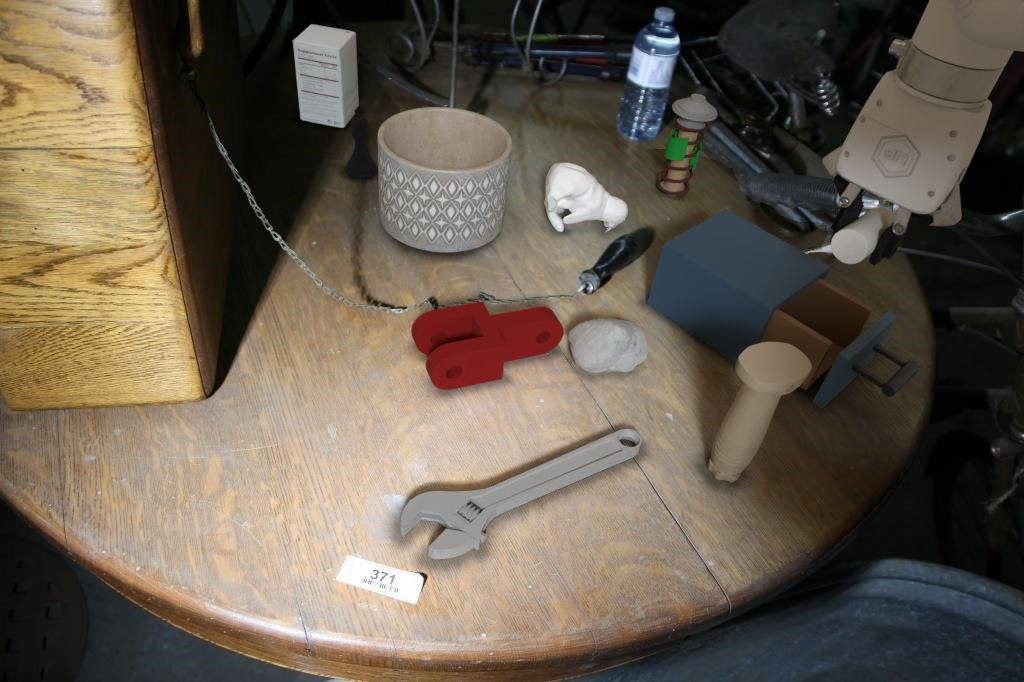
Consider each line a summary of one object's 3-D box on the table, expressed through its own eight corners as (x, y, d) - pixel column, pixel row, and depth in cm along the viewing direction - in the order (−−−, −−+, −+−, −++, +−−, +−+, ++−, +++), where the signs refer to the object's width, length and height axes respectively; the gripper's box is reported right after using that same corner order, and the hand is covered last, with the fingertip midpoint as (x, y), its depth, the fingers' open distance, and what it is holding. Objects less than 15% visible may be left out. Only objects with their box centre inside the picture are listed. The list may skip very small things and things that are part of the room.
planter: (501, 195, 107) (510, 112, 99) (504, 264, 95) (514, 176, 87) (384, 187, 106) (383, 101, 97) (373, 256, 94) (370, 166, 85)
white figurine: (551, 150, 100) (637, 169, 101) (537, 204, 106) (619, 221, 107) (549, 173, 96) (640, 193, 97) (534, 228, 101) (620, 247, 102)
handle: (682, 461, 74) (728, 351, 64) (734, 444, 77) (786, 336, 67) (711, 499, 71) (763, 390, 61) (764, 480, 74) (823, 373, 63)
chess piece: (339, 173, 107) (335, 106, 101) (357, 160, 110) (354, 95, 104) (364, 182, 106) (362, 116, 99) (382, 169, 109) (381, 104, 102)
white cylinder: (861, 269, 73) (871, 237, 71) (826, 256, 75) (835, 224, 73) (893, 245, 77) (903, 213, 75) (859, 233, 79) (868, 202, 77)
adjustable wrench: (628, 434, 76) (632, 422, 75) (664, 482, 72) (669, 470, 71) (394, 513, 66) (394, 501, 65) (421, 573, 62) (421, 562, 61)
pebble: (594, 323, 88) (602, 290, 85) (654, 356, 85) (664, 323, 82) (552, 360, 83) (559, 326, 80) (614, 397, 80) (623, 363, 77)
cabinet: (802, 326, 92) (830, 266, 86) (745, 370, 85) (772, 308, 79) (705, 267, 99) (725, 208, 93) (646, 303, 92) (664, 242, 86)
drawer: (910, 388, 84) (941, 340, 80) (863, 436, 78) (894, 388, 73) (770, 303, 93) (791, 256, 89) (718, 340, 87) (737, 291, 82)
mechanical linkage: (430, 393, 77) (431, 359, 74) (410, 348, 82) (411, 313, 79) (569, 364, 83) (576, 331, 80) (543, 323, 88) (549, 289, 84)
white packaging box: (316, 101, 123) (310, 22, 114) (360, 109, 122) (357, 31, 114) (298, 120, 118) (291, 39, 109) (344, 129, 117) (339, 48, 108)
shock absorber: (695, 205, 111) (725, 109, 101) (653, 201, 111) (679, 104, 101) (689, 183, 116) (717, 89, 106) (648, 179, 115) (672, 84, 105)
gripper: (838, 47, 66) (768, 223, 78) (1031, 123, 58) (919, 306, 70) (877, 31, 70) (805, 200, 82) (1062, 101, 62) (951, 276, 74)
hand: (858, 247), depth 76 cm, fingers closed on white cylinder, 3 cm apart
